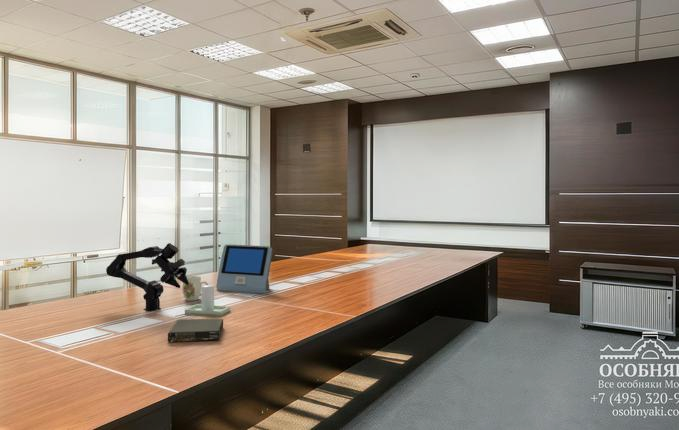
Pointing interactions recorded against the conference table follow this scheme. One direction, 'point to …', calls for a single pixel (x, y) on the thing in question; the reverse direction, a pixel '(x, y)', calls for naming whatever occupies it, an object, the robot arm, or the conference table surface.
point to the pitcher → (192, 288)
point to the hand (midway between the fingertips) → (184, 286)
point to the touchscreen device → (244, 269)
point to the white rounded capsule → (207, 298)
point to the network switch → (195, 330)
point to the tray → (197, 310)
